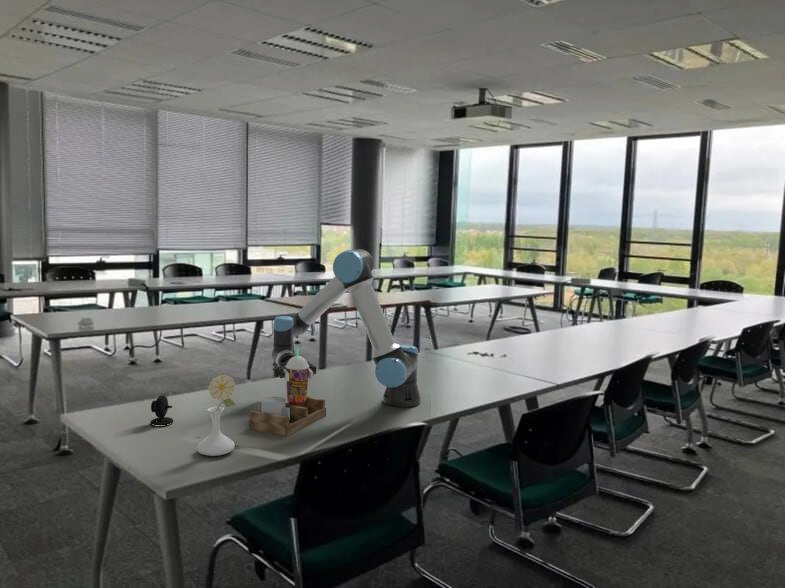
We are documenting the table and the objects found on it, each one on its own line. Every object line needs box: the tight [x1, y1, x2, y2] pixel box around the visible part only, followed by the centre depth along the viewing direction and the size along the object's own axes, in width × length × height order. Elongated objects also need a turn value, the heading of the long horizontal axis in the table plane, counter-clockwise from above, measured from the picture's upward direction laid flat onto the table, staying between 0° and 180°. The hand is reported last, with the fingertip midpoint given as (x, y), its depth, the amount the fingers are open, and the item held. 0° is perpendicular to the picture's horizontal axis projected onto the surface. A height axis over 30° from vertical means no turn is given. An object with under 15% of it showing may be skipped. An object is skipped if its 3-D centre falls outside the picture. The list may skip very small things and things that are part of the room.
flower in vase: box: [196, 374, 237, 457], centre depth 191 cm, size 13×11×25 cm
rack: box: [248, 396, 327, 437], centre depth 218 cm, size 16×24×8 cm, turn 155°
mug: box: [261, 396, 290, 421], centre depth 213 cm, size 10×8×9 cm
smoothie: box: [285, 347, 309, 406], centre depth 222 cm, size 8×8×20 cm
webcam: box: [150, 395, 174, 425], centre depth 217 cm, size 8×8×10 cm
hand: (300, 376), depth 217 cm, fingers closed on smoothie, 8 cm apart
